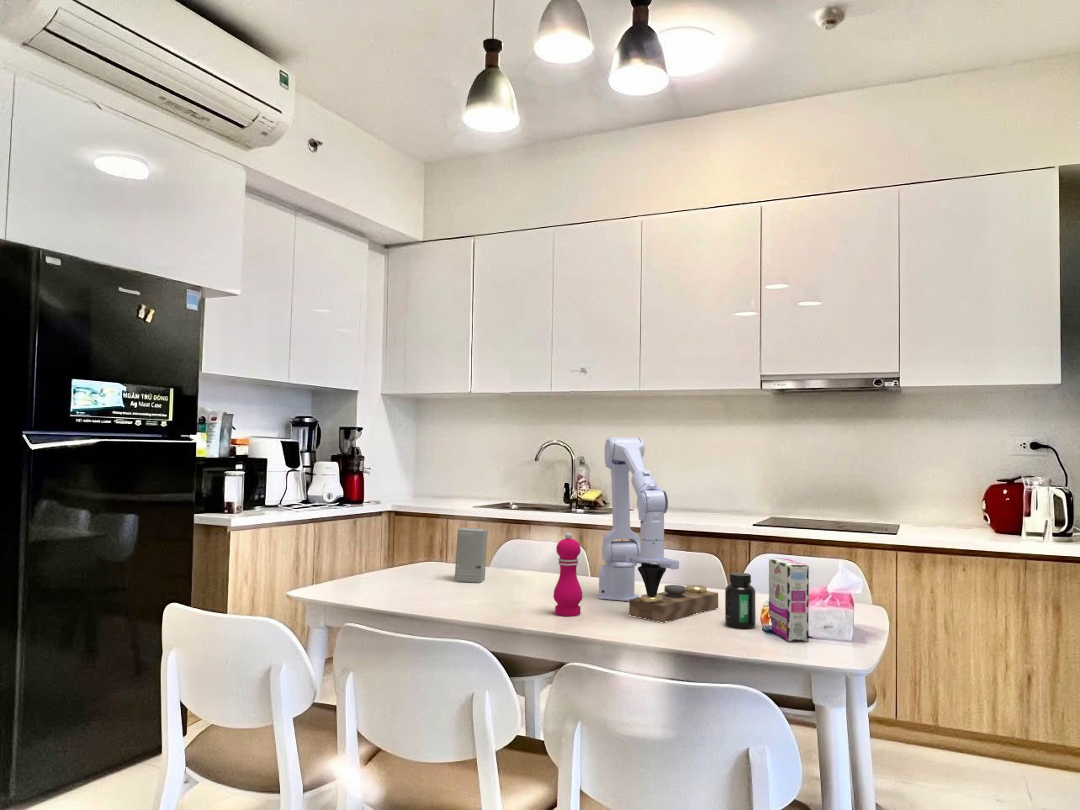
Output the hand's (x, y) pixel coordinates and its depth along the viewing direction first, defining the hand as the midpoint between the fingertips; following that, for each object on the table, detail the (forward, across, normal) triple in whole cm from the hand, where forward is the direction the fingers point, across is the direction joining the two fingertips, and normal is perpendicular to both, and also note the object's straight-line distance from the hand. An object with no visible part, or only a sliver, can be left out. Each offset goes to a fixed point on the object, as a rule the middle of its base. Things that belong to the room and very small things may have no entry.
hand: (651, 595), depth 183 cm
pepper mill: (+6, -17, -12) cm, 21 cm away
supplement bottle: (+6, +19, +9) cm, 22 cm away
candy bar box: (+6, +31, +9) cm, 33 cm away
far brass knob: (+5, 0, +19) cm, 20 cm away
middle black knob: (+4, 0, +10) cm, 10 cm away
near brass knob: (+5, 0, 0) cm, 5 cm away
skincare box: (+6, -67, -2) cm, 67 cm away
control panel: (+5, 0, +10) cm, 11 cm away
